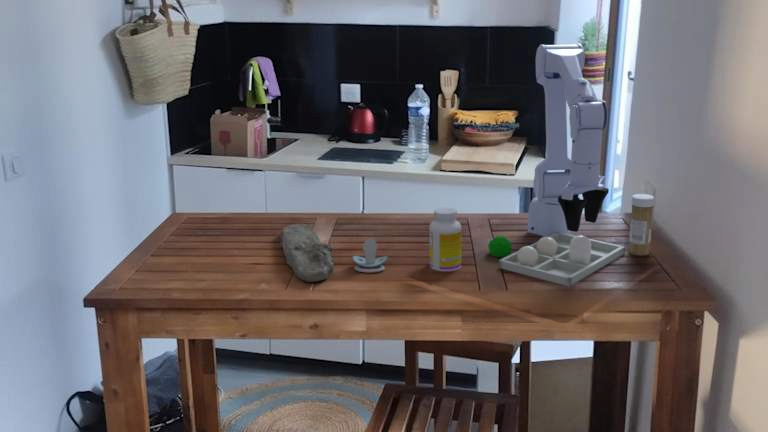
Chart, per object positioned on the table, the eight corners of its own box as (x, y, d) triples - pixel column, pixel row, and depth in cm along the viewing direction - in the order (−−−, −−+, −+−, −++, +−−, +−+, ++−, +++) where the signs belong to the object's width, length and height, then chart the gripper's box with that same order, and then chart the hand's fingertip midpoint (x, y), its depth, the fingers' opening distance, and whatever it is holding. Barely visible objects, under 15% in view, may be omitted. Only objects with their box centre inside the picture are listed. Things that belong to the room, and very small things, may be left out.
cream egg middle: (532, 257, 169) (533, 237, 168) (542, 251, 172) (543, 232, 171) (550, 261, 166) (551, 241, 165) (560, 256, 170) (561, 236, 168)
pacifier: (385, 275, 163) (388, 264, 169) (385, 247, 161) (387, 236, 167) (350, 274, 164) (354, 263, 170) (349, 246, 162) (353, 236, 168)
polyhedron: (505, 263, 168) (506, 242, 167) (484, 259, 171) (485, 238, 169) (514, 256, 172) (515, 235, 171) (494, 252, 175) (494, 232, 173)
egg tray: (498, 271, 164) (498, 260, 163) (556, 241, 181) (557, 231, 180) (569, 290, 153) (569, 278, 153) (624, 257, 170) (625, 246, 170)
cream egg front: (512, 267, 164) (513, 247, 162) (523, 261, 167) (524, 241, 165) (530, 271, 161) (531, 251, 160) (542, 265, 164) (542, 245, 163)
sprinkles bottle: (654, 256, 171) (659, 196, 167) (640, 260, 168) (645, 200, 164) (636, 250, 174) (641, 192, 170) (623, 254, 172) (627, 195, 168)
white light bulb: (564, 264, 164) (566, 236, 162) (575, 258, 167) (576, 231, 166) (583, 269, 161) (585, 240, 160) (594, 263, 164) (595, 235, 163)
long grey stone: (315, 237, 192) (274, 243, 190) (313, 216, 191) (272, 222, 189) (343, 280, 159) (294, 288, 157) (341, 255, 158) (291, 263, 156)
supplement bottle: (467, 268, 165) (468, 210, 162) (447, 277, 161) (447, 217, 157) (443, 261, 170) (443, 204, 166) (422, 269, 165) (422, 210, 162)
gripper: (586, 171, 150) (582, 238, 154) (620, 157, 161) (615, 221, 165) (553, 166, 155) (550, 231, 159) (588, 153, 165) (585, 215, 169)
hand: (581, 226), depth 162 cm, fingers open, 7 cm apart
